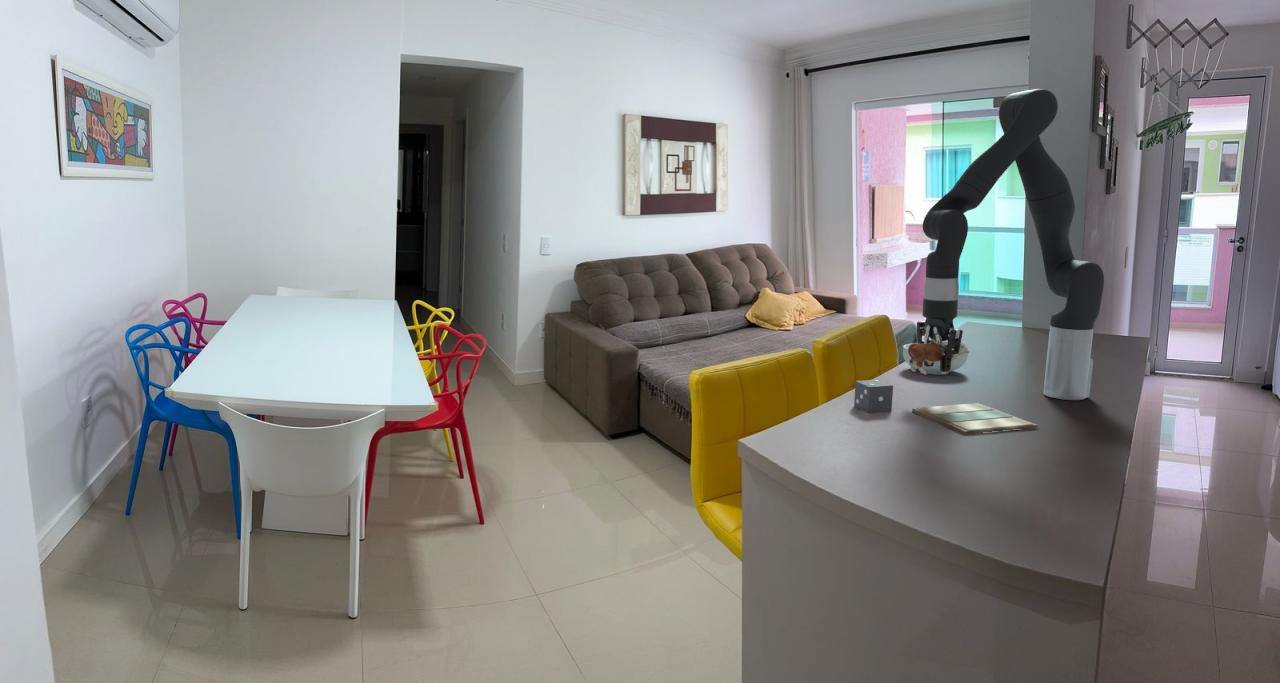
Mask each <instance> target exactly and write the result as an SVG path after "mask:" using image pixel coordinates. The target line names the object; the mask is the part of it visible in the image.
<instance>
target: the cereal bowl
mask: <svg viewBox="0 0 1280 683" xmlns="http://www.w3.org/2000/svg"><path fill="white" fill-rule="evenodd" d="M913 343H914V342H912V343H906V344H904V345H903V346H902V355H903V359H904V361H905V362H906V364H908V366H910V367H911V365H910V362H909V361H910V360H911V357H910V355H909V353H908V348H909V346H910V345H911V344H913ZM930 344H931V343H930ZM968 356H969V353H967V354H965V353H963V354H962V355H958V356H957V358H956V359H955V360H953V361H952V362H951V368H950V372H952V371H955V370H959V369H961V368H962V367H963V366H964V365H965V364H966V362H967V359H968ZM923 368H924V370H925V371H926V372H927V373H928V374H927V375H937V376H939V375H943V373H941V371H940V362H934V365H933V366H930V367H926V366H924V361H923ZM916 370H918V371H919V372H920V373H921V371H920V369H919V367H918V366H917V369H916ZM946 374H947V375H948V374H949V373H947V372H946Z"/></svg>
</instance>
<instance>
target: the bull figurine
mask: <svg viewBox="0 0 1280 683" xmlns="http://www.w3.org/2000/svg"><path fill="white" fill-rule="evenodd" d="M912 343H913V344H911V343H910V344H911V345H910V346H909V348H908V353H909V355H910V357H911V360H910V361H909V362H910V365H911V366H910V365H909V366H910V370H911V371H912V372H913V373H917V370H918V369H917V366H918V367H919V369H920V371H921V372H920V371H919V372H920V374H923V375H925V376H926V375H929V374H928V373H927V372H926V371H925V370H924V368H923V361H924V360H925V361H927V363H928V364H929V365H931V363H932V362H940V360H941V356H942V355H941V351H940V347H939V346H938V345H937V343H936V344H924V343H918V342H912ZM954 346H955V345H953V347H952V348H953V349H954ZM945 350H947V346H945ZM963 353H965V354H967V353H968V354H969V353H970V349H969V347H968V346H967V344H966V343H965V342H964V341H963V340H962V339H961V343H960V348H959V353H958V354H955V355H952V357H951V362H952V361H953V360H955V359H956V358H957V356H958V355H962V354H963ZM950 372H951V371H949V372H947V373H948V374H949V373H950ZM941 373H943V374H942V375H944V376H946V375H948V374H946V372H942V371H941Z"/></svg>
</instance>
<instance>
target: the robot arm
mask: <svg viewBox="0 0 1280 683" xmlns="http://www.w3.org/2000/svg"><path fill="white" fill-rule="evenodd" d="M1058 109H1059V106H1058V99H1057V97H1056V95H1055V94H1054V93H1053V92H1052V91H1051V90H1048V89H1044V88H1034V89H1028V90H1023V91H1018V92H1014V93H1010V94H1008V95H1007V96H1005V97H1004V98H1003V99H1002V101H1001V103H1000V105H999V108H998V119H999V124H1000V127H1001V130H1002V132H1003V134H1002V135H1001V137H999V138H998V140H997V141H996V142H994V143H993V144H991V146H989V148H988V149H986V150H985V151H984V152H982V153H981V154H980V155H979V156H978V157H977V158H976V159H975V160H974V161H972V162H971V163H970V164H969V165H968V167H967V168H966V169H965V171H964V172H962V174H961V176H960V177H959V178H958V180H957V181H956V183H954V186H953V187H952V188H951V189H950V190H949V191H948V192H947V193H946V194H944V195H943V196H942V197H941V198H940V199H939V200H938V201H937V202H936V203H935V204H934V205H933V206H932V207H931V208H930V209H929V210H928V212H927V213H926V214H925V216H924V218H923V221H922V231H923V234H924V235H925V236H926V237H927V238H929V239H931V240H934V241H935V240H936V241H937V243H936V246H935V250H934V251H931V252H929V253H928V254H927V257H926V262H925V263H926V264H925V266H926V267H925V279H924V284H923V296H922V316H923V317H924V318H926V319H925V320H921V321H917V322H916V332H917V343H924V344H930V343H931V344H936V343H937V345H938V346H939V347H940V351H941V355H942V356H941V360H940V371H942V372H949V371H950V368H951V357H952V355H955V354H958V353H959V348H960V343H961V340H962V338H963V329H961V328H960V329H957V328H955V326H954V319H957V317H958V308H959V292H960V291H959V290H960V284H959V273H960V272H959V269H960V258H961V255H962V252H963V250H964V247H965V243H966V240H967V236H968V232H969V223H968V219H967V217H966V214H965V213H967V212H969V211H972V210H975V209H976V208H977V207H979V206H980V204H981V203H982V202H983V201H984V199H985V198H986V197H987V196H988V194H989V193H990V191H991V190H992V189H993V187H994V186H995V184H996V183H997V182H998V181H999V179H1000V178H1001V177H1002V176H1003V174H1004V173H1005V172H1006V171H1007V170H1008V169H1009V167H1010V166H1011V165H1012V164H1013V163H1014V162H1015V163H1016V167H1017V170H1018V174H1019V176H1020V180H1021V183H1022V186H1023V190H1024V194H1025V199H1026V201H1027V205H1028V209H1029V212H1030V215H1031V217H1032V220H1033V224H1034V227H1035V230H1036V234H1037V238H1038V241H1039V247H1040V250H1041V256H1042V261H1043V267H1044V274H1045V278H1046V282H1047V286H1048V288H1049V290H1050V292H1052V293H1053V294H1054V295H1056V296H1058V297H1061V298H1064V299H1065V298H1066V303H1065V306H1064V308H1063V309H1062V310H1061V311H1058V312H1054V313H1053V314H1052V315H1051V317H1050V325H1049V335H1048V344H1047V353H1046V354H1047V355H1046V364H1045V372H1044V374H1045V375H1044V381H1043V382H1044V383H1043V392H1042V393H1043V395H1044V396H1046V397H1049V398H1053V399H1059V400H1065V401H1083V400H1085V399H1087V398H1090V391H1091V384H1092V376H1093V375H1092V374H1093V367H1094V359H1093V358H1091V356H1092V354H1091V353H1092V345H1093V338H1094V327H1095V322H1096V320H1097V318H1098V317H1099V314H1100V309H1101V303H1102V298H1103V292H1104V286H1105V275H1104V274H1105V273H1104V271H1103V269H1102V267H1101V266H1100V265H1099V264H1098V263H1096V262H1093V261H1088V260H1079V259H1078V260H1077V259H1076V258H1075V256H1074V254H1073V252H1072V247H1071V243H1070V239H1069V238H1070V237H1069V236H1070V235H1069V234H1070V230H1071V225H1072V223H1073V219H1074V216H1075V215H1074V214H1075V210H1076V207H1075V206H1076V204H1075V199H1074V195H1073V191H1072V188H1071V184H1070V182H1069V179H1068V177H1067V175H1066V174H1065V172H1064V171H1063V169H1062V168H1061V167H1060V166H1059V165H1058V164H1057V162H1056V161H1055V160H1054V159H1053V158H1052V157H1051V156H1050V155H1049V153H1048V151H1046V149H1045V147H1044V145H1043V143H1042V140H1041V137H1040V136H1041V135H1042V133H1043V132H1044V131H1046V130H1047V128H1048V127H1049V126H1050V125H1051V124H1052V123H1053V121H1054V120H1055V119H1056V117H1057V114H1058ZM953 345H955V346H954V349H953V348H952V347H953ZM945 346H947V350H945ZM933 365H934V362H932V363H931V365H929V364H928V363H927V361H925V360H924V366H926V367H930V366H933ZM950 372H951V371H950ZM950 372H949V373H950Z"/></svg>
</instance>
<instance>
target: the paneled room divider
mask: <svg viewBox="0 0 1280 683" xmlns="http://www.w3.org/2000/svg"><path fill="white" fill-rule="evenodd" d="M911 412H912V413H913V414H916V415H918V416H920V417H922V418H924V419H927V420H929V421H931V422H933V423H936V424H938V425H941V426H943V427H944V428H946V429H949V430H952V431H954V432H957V433H959V434H961V435H963V434H964V435H963V436H970V435H969V434H973V435H977V434H976V433H983V432H992V431H1003V430H1013V429H1028V430H1032V429H1031V428H1039V424H1037V423H1034V422H1031V421H1028V420H1025V419H1023V418H1020V417H1017V416H1015V415H1012V414H1010V413H1006V412H1004V411H1001V410H999V409H996V408H994V407H992V406H991V407H990V406H988V405H985V404H982V403H978V402H975V403H963V404H951V405H950V404H947V405H936V406H934V405H933V406H924V407H923V406H922V407H916V408H912V409H911Z"/></svg>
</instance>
